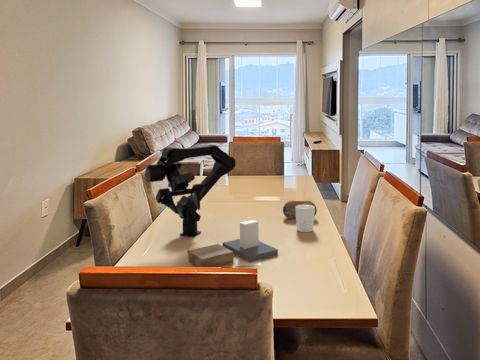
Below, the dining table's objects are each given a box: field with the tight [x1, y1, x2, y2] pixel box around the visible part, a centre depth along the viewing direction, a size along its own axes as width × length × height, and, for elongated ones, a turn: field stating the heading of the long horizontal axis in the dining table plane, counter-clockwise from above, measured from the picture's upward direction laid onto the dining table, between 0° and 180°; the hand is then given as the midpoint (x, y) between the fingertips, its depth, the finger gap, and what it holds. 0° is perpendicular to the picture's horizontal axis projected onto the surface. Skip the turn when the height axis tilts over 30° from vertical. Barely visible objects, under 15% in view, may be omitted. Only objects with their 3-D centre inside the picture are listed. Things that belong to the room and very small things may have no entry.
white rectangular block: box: [239, 219, 260, 249], centre depth 164 cm, size 3×6×9 cm, turn 124°
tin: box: [282, 200, 318, 220], centre depth 206 cm, size 15×3×8 cm, turn 80°
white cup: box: [295, 205, 315, 233], centre depth 189 cm, size 8×8×10 cm
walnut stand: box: [187, 243, 234, 268], centre depth 155 cm, size 10×12×4 cm
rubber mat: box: [222, 238, 279, 263], centre depth 166 cm, size 18×12×2 cm, turn 33°
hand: (188, 211), depth 170 cm, fingers open, 9 cm apart
